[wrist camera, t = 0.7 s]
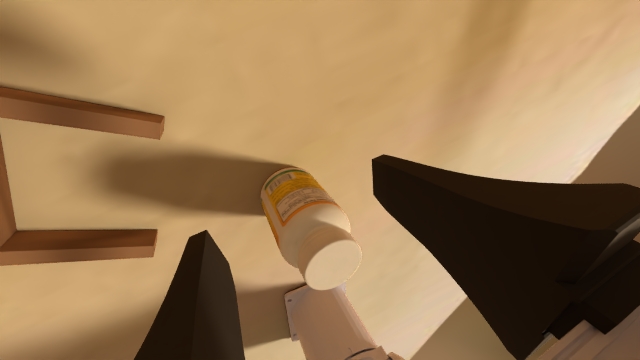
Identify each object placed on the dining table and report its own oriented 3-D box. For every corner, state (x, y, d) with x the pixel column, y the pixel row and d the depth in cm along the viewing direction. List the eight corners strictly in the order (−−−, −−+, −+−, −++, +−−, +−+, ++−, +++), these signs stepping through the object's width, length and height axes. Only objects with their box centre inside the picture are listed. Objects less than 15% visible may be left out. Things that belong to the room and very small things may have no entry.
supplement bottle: (269, 160, 21) (313, 226, 13) (322, 172, 23) (385, 232, 16) (251, 214, 22) (281, 302, 14) (303, 219, 25) (351, 295, 17)
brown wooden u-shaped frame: (164, 116, 16) (160, 123, 15) (156, 240, 19) (153, 257, 18) (-40, 79, 12) (-76, 84, 10) (-5, 244, 15) (-28, 267, 14)
